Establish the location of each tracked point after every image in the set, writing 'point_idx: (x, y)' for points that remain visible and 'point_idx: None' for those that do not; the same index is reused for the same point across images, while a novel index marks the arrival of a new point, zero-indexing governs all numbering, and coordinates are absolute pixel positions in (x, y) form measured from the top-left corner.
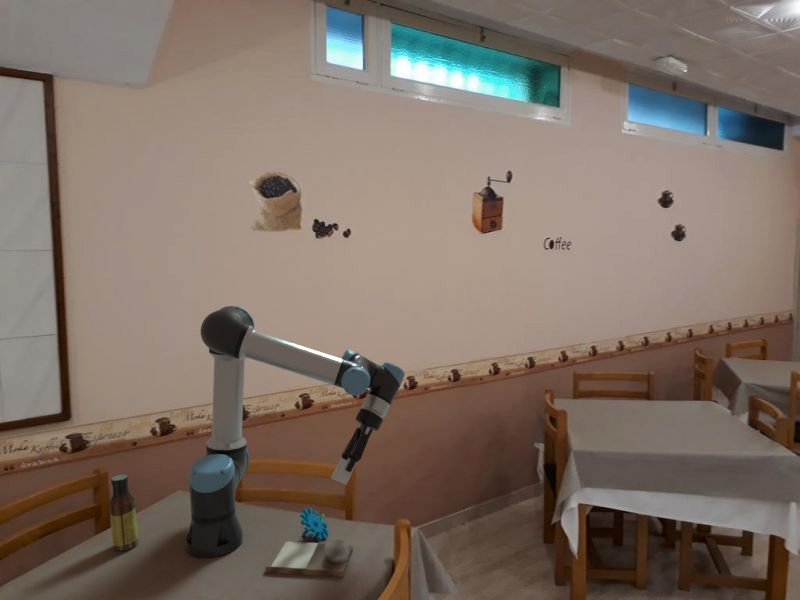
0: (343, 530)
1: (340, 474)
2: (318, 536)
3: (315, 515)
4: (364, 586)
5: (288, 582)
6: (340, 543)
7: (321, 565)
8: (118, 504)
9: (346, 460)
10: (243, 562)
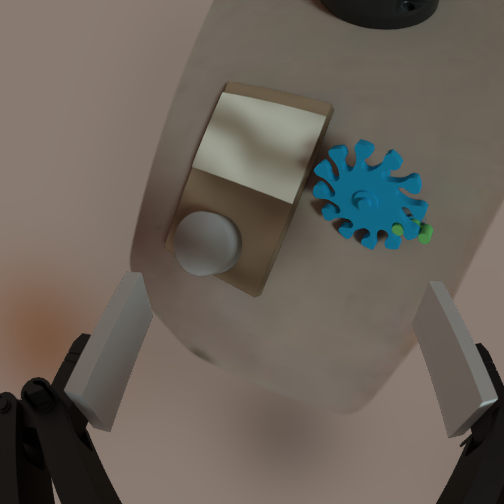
0: (379, 297)
1: (113, 297)
2: (324, 208)
3: (398, 203)
4: None
5: (188, 135)
6: (208, 257)
7: (195, 203)
8: None
9: (459, 424)
10: (285, 41)
